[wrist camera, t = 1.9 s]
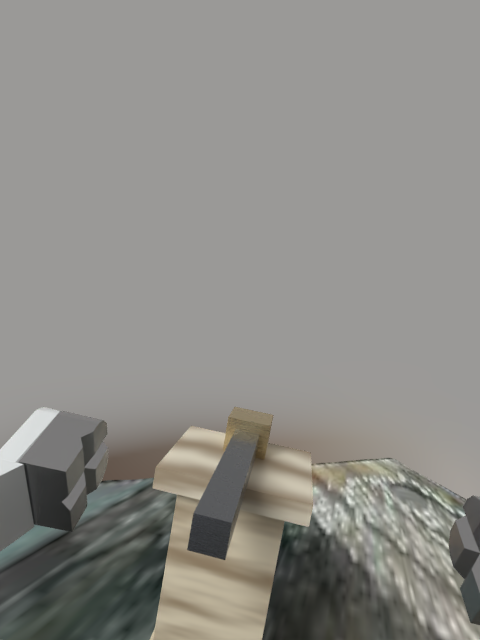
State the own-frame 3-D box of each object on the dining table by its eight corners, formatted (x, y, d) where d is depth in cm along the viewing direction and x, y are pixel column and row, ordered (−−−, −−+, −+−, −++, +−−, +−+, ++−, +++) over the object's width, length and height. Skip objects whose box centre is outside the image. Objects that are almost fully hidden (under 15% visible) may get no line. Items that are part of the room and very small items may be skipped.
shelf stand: (259, 779, 38) (313, 504, 36) (113, 730, 40) (156, 466, 38) (269, 664, 50) (310, 452, 47) (156, 630, 51) (191, 425, 49)
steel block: (239, 564, 26) (249, 509, 26) (172, 546, 27) (181, 493, 27) (268, 442, 48) (273, 412, 48) (230, 434, 49) (236, 404, 48)
